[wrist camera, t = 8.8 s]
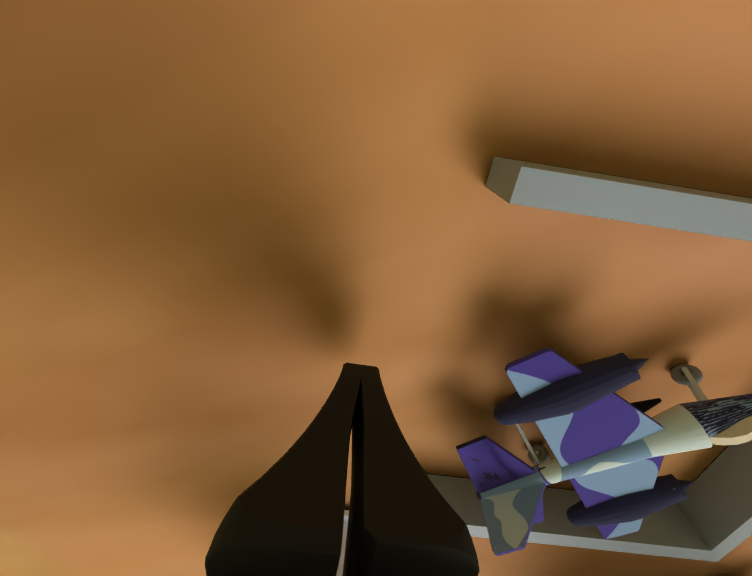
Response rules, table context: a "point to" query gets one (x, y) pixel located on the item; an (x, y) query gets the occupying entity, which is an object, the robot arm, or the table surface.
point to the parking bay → (732, 467)
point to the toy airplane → (593, 445)
